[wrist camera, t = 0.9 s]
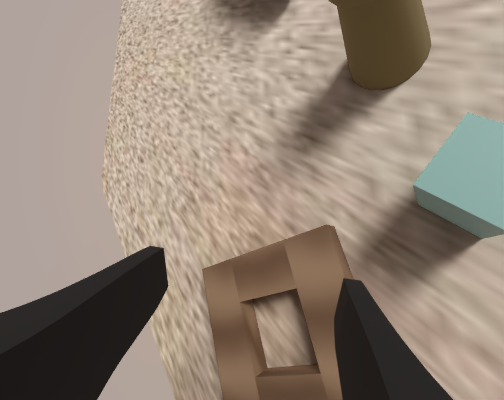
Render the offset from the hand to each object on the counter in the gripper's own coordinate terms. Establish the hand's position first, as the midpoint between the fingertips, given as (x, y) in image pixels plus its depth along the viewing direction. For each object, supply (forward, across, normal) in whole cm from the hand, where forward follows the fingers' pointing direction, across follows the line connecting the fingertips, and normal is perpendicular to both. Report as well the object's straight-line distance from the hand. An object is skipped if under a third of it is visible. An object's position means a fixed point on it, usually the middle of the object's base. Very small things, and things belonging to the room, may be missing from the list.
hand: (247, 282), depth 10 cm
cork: (+19, -8, -10) cm, 22 cm away
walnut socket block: (+8, -2, +12) cm, 15 cm away
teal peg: (+10, -13, -1) cm, 16 cm away
